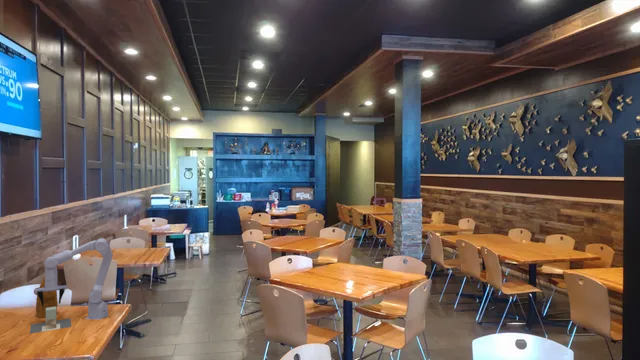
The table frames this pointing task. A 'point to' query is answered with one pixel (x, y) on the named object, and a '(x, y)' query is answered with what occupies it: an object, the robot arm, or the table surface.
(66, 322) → the board
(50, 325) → the walnut block
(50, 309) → the sage block
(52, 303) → the coffee package
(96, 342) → the table surface
